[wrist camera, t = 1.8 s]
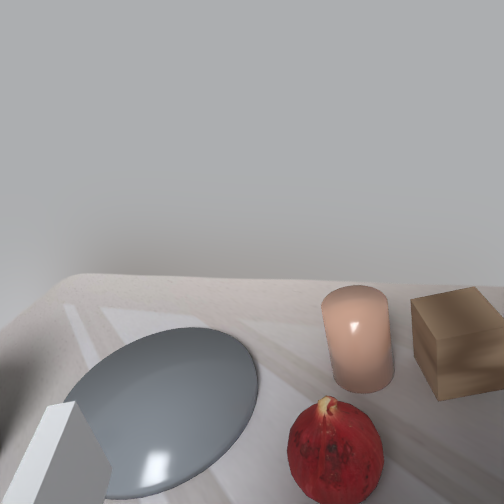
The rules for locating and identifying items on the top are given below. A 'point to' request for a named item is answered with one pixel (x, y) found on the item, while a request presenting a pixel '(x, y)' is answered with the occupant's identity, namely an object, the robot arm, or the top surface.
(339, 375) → the cylinder
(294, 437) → the red pomegranate
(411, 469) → the top surface
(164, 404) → the slate plate
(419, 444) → the top surface
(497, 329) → the walnut block
